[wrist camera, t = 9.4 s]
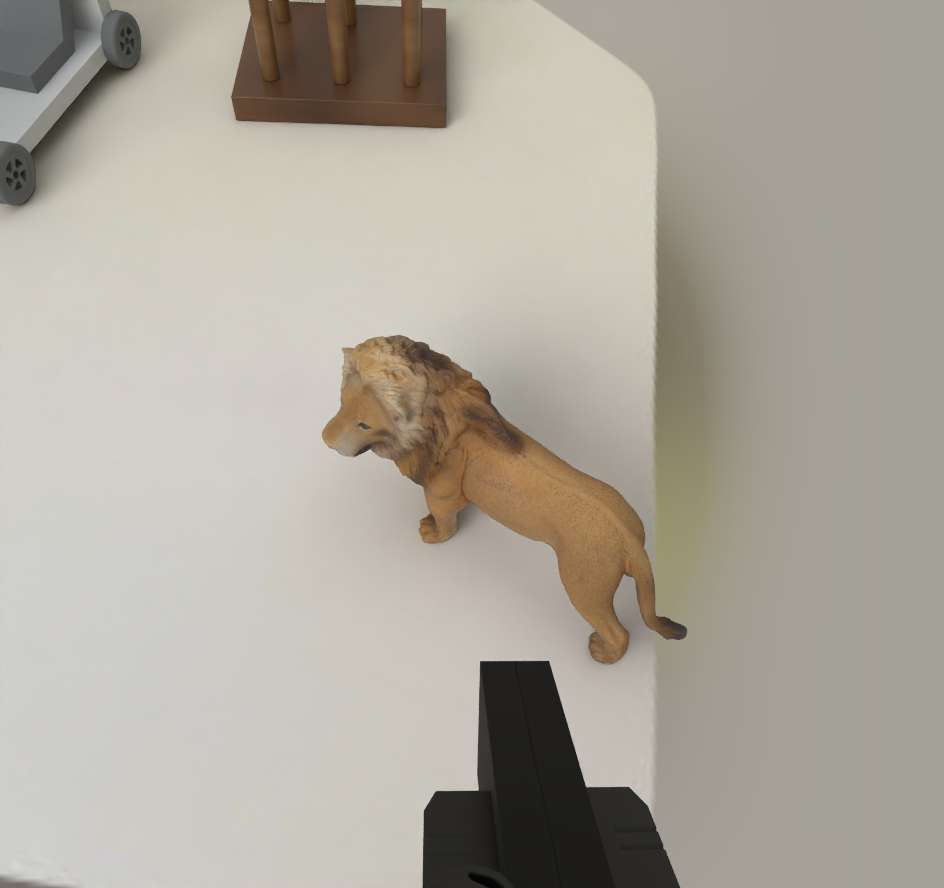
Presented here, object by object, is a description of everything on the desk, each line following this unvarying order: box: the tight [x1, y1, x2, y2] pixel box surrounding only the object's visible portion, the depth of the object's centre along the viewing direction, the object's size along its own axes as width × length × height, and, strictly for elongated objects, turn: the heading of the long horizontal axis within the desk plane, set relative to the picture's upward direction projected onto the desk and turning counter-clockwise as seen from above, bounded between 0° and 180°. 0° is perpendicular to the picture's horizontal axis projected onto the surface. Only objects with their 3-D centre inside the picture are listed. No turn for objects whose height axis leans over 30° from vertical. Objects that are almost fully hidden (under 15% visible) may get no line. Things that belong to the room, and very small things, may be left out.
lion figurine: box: [322, 335, 687, 664], centre depth 28 cm, size 15×5×9 cm, turn 62°
